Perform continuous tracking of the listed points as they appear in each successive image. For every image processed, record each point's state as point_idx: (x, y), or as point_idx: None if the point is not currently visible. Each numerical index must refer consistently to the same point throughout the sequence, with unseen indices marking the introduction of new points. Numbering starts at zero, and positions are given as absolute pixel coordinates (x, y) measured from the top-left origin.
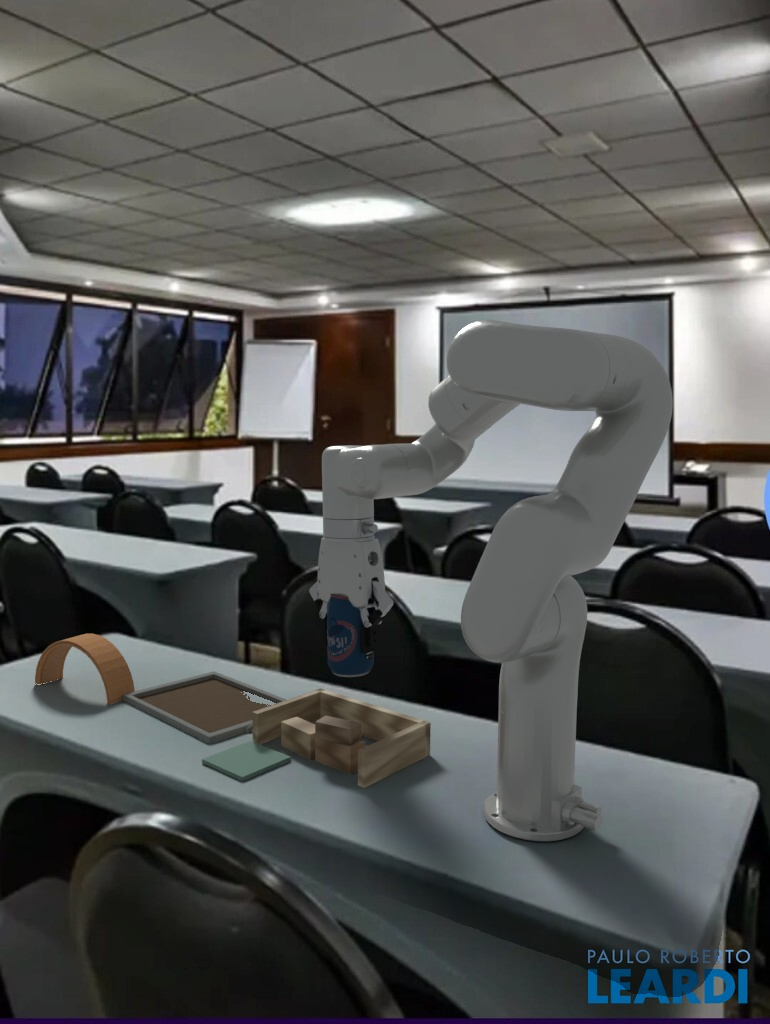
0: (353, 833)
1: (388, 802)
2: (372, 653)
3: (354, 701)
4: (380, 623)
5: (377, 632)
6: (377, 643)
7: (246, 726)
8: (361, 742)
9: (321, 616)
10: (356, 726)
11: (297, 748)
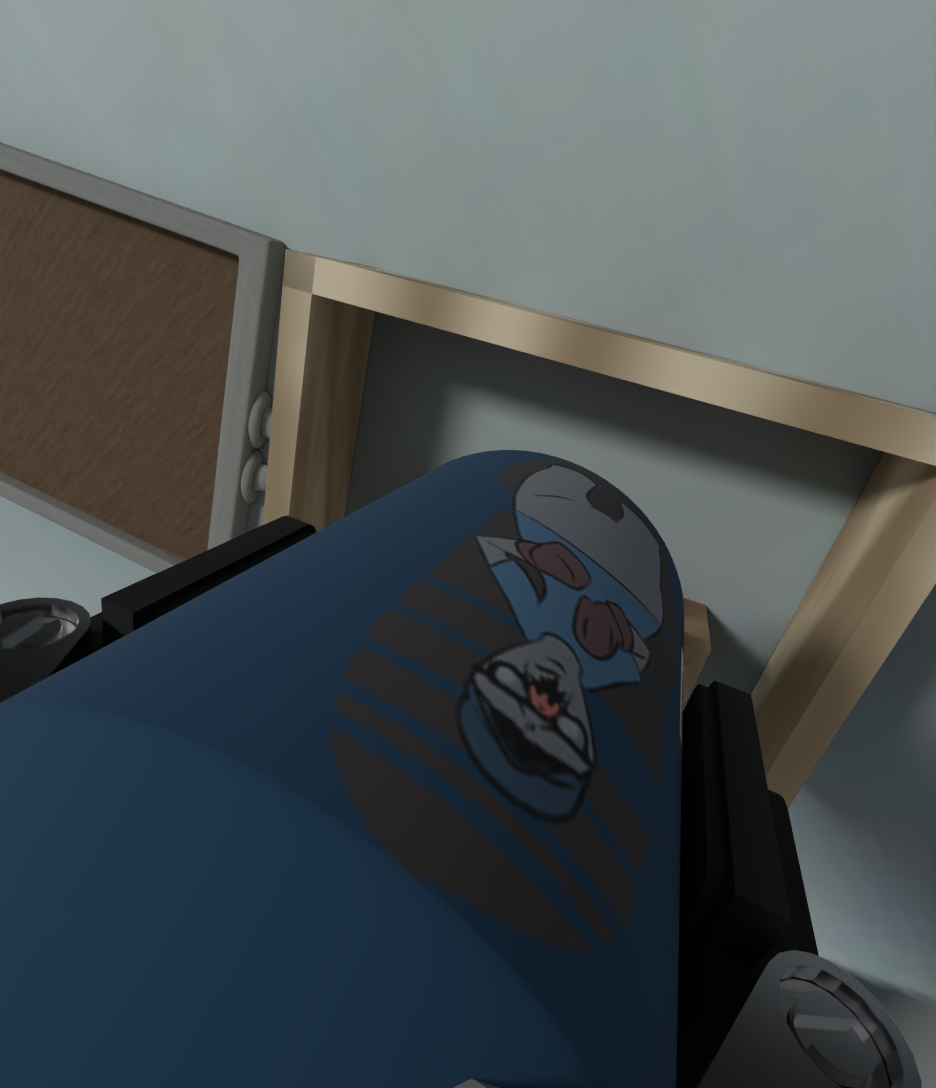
0: (821, 937)
1: (871, 794)
2: (683, 655)
3: (507, 335)
4: (868, 999)
5: (803, 913)
6: (779, 804)
7: (239, 496)
8: (702, 659)
9: None
10: (683, 698)
11: None
